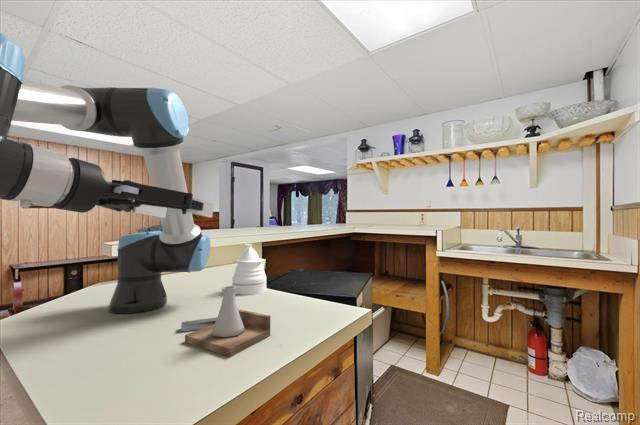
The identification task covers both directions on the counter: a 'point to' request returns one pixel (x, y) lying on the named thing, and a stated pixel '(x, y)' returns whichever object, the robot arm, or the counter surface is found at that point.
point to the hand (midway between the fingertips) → (187, 211)
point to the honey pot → (249, 273)
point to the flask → (228, 315)
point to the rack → (229, 346)
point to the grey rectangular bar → (197, 324)
